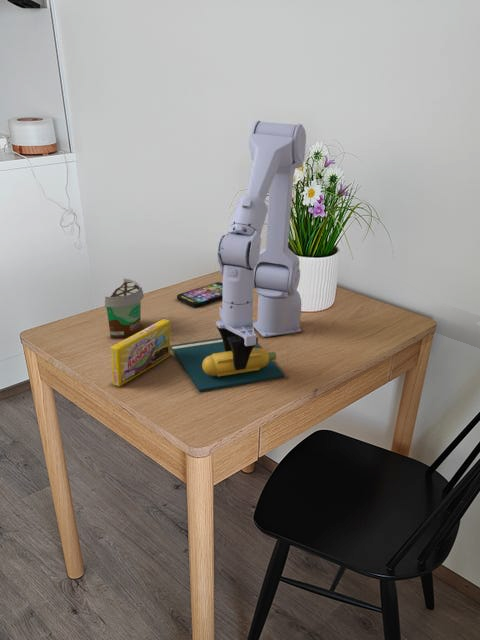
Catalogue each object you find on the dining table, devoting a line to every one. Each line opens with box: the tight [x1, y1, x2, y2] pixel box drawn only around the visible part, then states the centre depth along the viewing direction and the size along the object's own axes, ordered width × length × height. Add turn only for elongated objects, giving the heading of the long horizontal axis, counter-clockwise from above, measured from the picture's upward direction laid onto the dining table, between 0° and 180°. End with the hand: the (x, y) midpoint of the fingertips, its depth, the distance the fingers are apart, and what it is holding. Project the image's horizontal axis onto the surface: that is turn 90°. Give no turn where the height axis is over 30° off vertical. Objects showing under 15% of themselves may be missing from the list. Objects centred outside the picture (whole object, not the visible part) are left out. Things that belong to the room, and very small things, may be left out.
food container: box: [104, 278, 144, 339], centre depth 140 cm, size 12×6×10 cm, turn 168°
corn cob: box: [202, 347, 277, 377], centre depth 125 cm, size 4×15×4 cm, turn 111°
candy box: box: [110, 318, 171, 388], centre depth 125 cm, size 16×2×8 cm, turn 148°
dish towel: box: [170, 337, 286, 393], centre depth 131 cm, size 18×20×1 cm
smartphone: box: [176, 281, 223, 308], centre depth 161 cm, size 8×1×15 cm
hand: (236, 363), depth 125 cm, fingers closed on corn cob, 4 cm apart
